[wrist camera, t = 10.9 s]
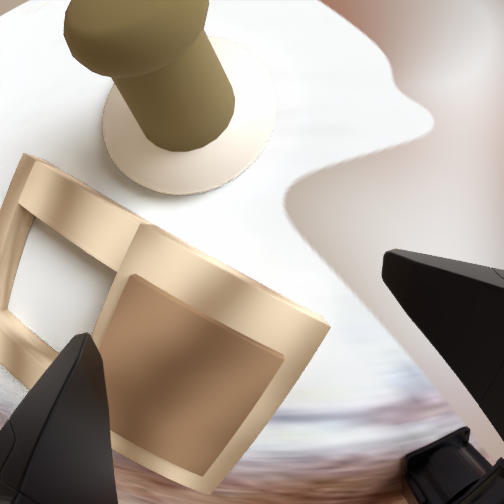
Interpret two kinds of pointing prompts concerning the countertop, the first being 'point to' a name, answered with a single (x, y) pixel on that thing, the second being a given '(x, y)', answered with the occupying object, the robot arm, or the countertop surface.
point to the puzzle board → (161, 331)
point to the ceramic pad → (210, 156)
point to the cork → (156, 65)
